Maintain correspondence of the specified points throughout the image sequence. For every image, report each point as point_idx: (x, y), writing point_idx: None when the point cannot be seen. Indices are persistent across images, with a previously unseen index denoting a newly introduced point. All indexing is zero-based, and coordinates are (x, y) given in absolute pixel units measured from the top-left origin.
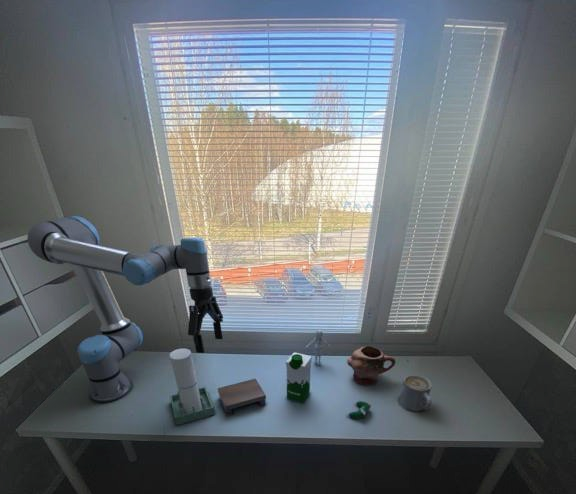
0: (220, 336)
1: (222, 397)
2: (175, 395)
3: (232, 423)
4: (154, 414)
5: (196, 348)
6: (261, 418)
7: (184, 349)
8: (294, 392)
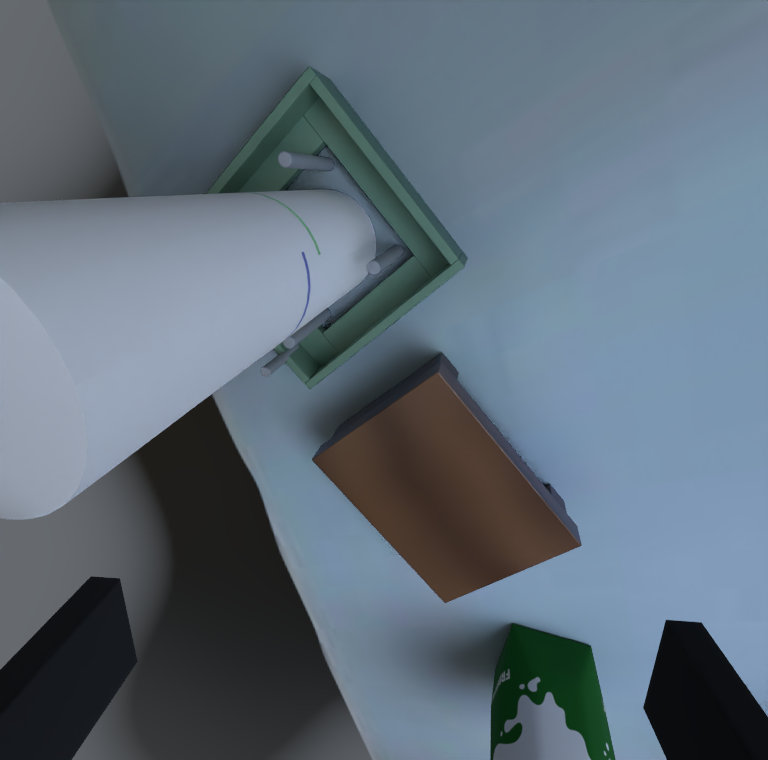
0: (669, 749)
1: (367, 426)
2: (327, 106)
3: (304, 459)
4: (208, 43)
5: (43, 639)
6: (367, 550)
7: (50, 389)
8: (494, 698)
